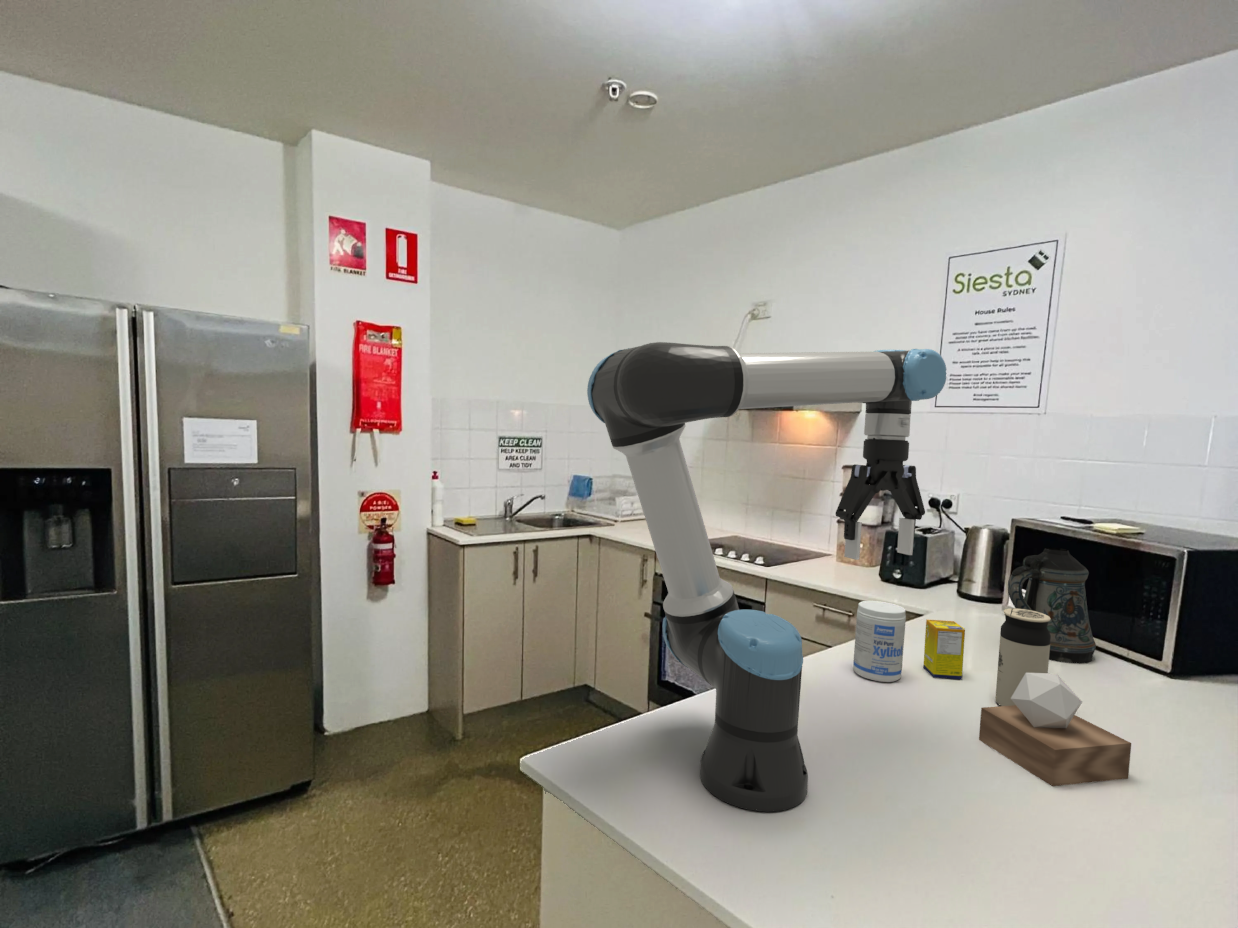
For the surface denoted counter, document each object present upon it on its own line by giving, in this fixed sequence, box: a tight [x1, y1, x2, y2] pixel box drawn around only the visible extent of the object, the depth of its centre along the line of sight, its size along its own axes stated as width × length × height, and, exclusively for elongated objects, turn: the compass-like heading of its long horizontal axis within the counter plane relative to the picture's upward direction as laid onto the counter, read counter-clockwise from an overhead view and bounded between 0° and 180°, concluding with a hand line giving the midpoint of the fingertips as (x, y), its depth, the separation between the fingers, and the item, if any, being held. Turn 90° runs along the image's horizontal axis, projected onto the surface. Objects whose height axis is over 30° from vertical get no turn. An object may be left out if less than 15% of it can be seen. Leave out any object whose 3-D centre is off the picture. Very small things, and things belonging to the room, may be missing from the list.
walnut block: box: [978, 705, 1132, 787], centre depth 102 cm, size 14×14×6 cm
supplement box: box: [922, 619, 966, 680], centre depth 136 cm, size 6×6×11 cm
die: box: [1011, 672, 1083, 728], centre depth 102 cm, size 8×9×10 cm
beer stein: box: [1007, 546, 1097, 664], centre depth 153 cm, size 16×19×25 cm
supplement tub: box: [852, 600, 907, 683], centre depth 134 cm, size 10×10×15 cm
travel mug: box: [995, 607, 1051, 706], centre depth 121 cm, size 8×8×18 cm
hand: (878, 556), depth 115 cm, fingers open, 13 cm apart
